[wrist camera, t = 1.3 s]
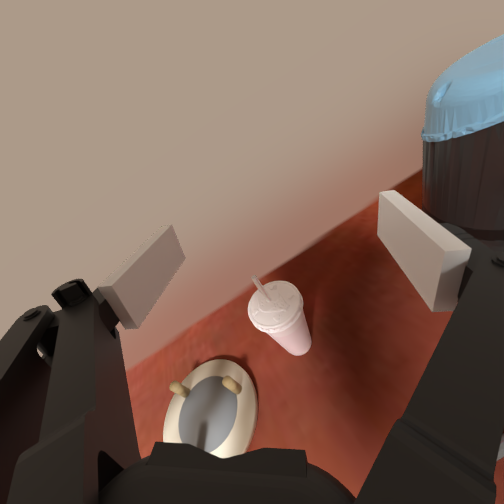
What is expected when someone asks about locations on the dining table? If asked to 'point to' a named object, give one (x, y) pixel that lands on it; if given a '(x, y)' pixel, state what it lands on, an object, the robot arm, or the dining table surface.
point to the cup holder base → (213, 409)
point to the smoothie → (280, 315)
